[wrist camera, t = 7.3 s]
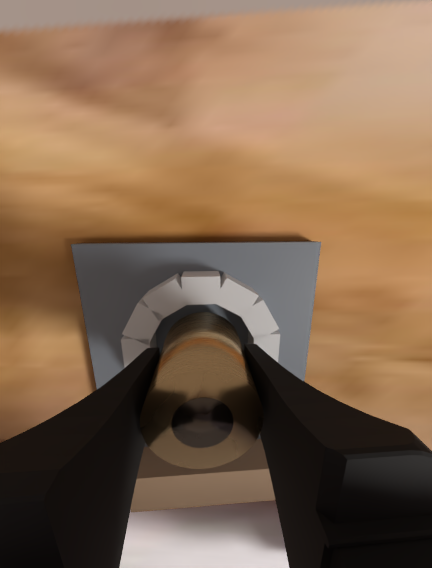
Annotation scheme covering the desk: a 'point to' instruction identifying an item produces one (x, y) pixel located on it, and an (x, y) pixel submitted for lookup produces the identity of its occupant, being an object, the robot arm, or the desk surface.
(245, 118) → the desk surface
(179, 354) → the bushing
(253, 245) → the jig
